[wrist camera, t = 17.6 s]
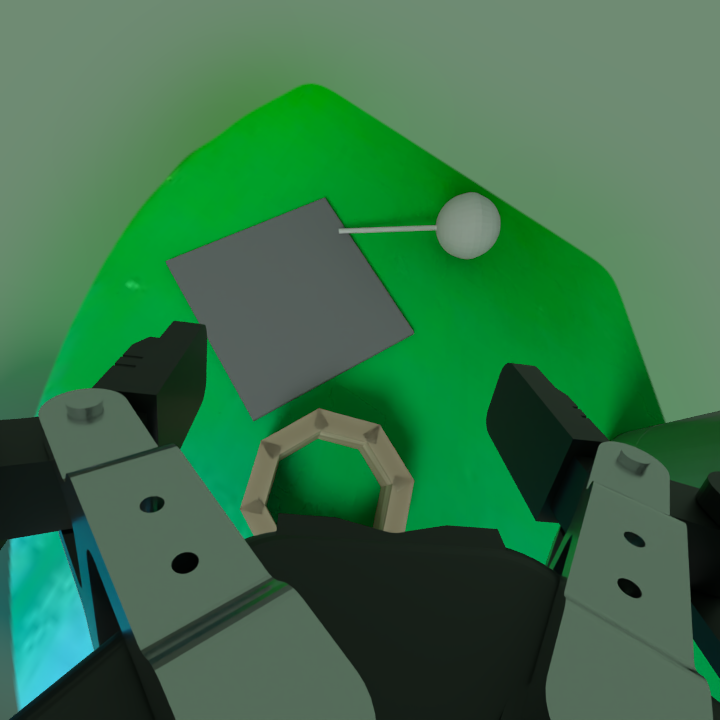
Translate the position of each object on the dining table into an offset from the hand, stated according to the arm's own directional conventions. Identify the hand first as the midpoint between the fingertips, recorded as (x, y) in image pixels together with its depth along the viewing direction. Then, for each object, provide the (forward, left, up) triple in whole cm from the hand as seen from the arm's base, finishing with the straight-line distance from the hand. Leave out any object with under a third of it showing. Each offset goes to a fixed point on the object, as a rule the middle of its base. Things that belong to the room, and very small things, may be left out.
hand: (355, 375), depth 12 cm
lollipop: (-13, -17, -24) cm, 33 cm away
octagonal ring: (0, +3, -25) cm, 25 cm away
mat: (-6, -13, -25) cm, 29 cm away
